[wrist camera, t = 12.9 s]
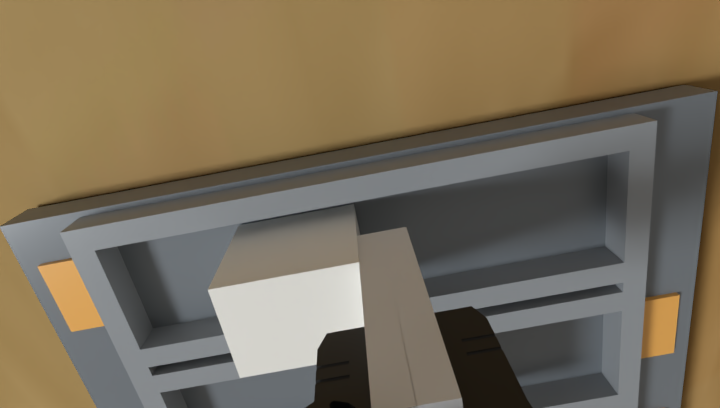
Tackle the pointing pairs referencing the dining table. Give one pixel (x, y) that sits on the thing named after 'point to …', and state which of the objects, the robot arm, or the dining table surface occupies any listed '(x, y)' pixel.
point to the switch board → (431, 247)
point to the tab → (288, 288)
